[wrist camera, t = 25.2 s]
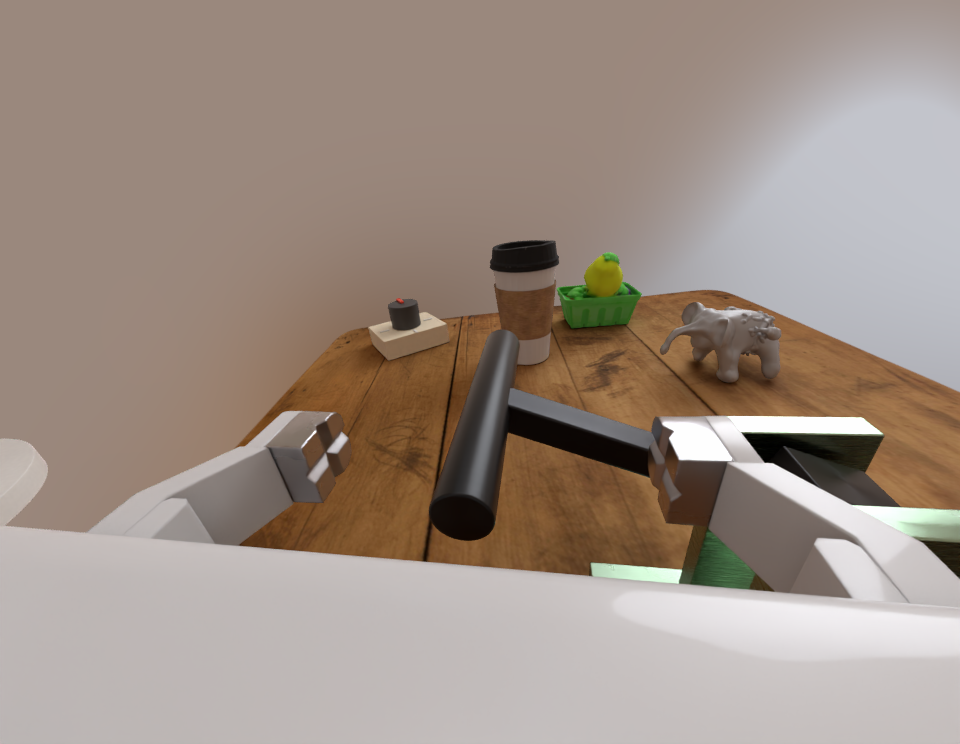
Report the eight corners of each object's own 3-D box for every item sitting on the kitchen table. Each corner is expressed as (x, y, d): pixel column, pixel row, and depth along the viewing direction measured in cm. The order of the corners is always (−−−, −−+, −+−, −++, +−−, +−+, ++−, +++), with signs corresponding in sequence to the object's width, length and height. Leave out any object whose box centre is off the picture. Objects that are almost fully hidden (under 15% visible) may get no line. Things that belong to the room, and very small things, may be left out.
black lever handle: (418, 542, 8) (440, 469, 7) (479, 363, 16) (494, 314, 15) (966, 717, 8) (1080, 674, 7) (763, 454, 16) (801, 411, 15)
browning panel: (389, 361, 53) (384, 341, 52) (371, 343, 60) (367, 325, 58) (450, 342, 57) (447, 323, 56) (427, 327, 64) (425, 310, 63)
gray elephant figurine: (791, 375, 40) (815, 308, 37) (713, 407, 37) (730, 335, 33) (714, 347, 48) (727, 289, 44) (642, 370, 44) (650, 309, 41)
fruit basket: (622, 310, 63) (628, 241, 58) (643, 329, 55) (653, 251, 50) (555, 316, 63) (556, 248, 58) (567, 335, 56) (568, 259, 50)
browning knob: (425, 325, 56) (421, 301, 55) (397, 332, 55) (392, 308, 53) (415, 318, 60) (410, 295, 58) (388, 324, 58) (383, 301, 56)
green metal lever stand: (616, 827, 14) (671, 622, 8) (588, 576, 23) (603, 381, 16) (1006, 905, 12) (1539, 713, 5) (811, 595, 21) (928, 380, 14)
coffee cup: (517, 376, 46) (511, 251, 39) (486, 353, 53) (476, 243, 46) (571, 357, 49) (574, 239, 42) (535, 338, 56) (532, 234, 49)
